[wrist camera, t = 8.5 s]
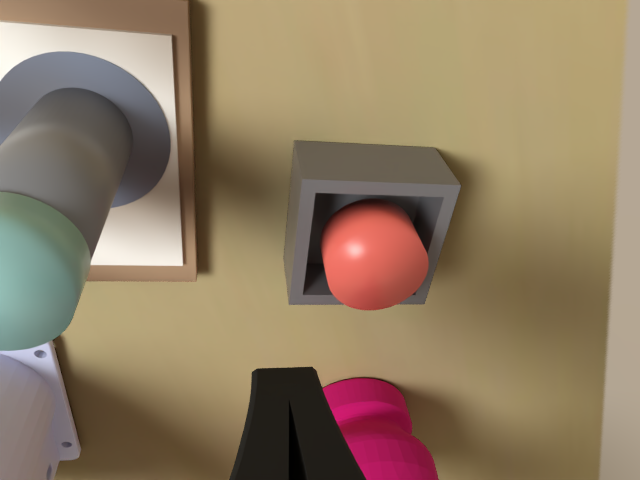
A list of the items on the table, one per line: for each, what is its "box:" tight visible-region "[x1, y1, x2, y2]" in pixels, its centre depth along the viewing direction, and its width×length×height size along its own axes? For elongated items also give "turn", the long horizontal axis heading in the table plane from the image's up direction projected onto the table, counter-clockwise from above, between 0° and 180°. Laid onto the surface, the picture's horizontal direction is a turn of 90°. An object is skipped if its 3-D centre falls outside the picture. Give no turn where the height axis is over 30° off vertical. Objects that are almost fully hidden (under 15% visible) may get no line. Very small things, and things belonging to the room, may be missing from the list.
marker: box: [0, 88, 133, 351], centre depth 14 cm, size 3×3×8 cm
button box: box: [284, 140, 461, 305], centre depth 20 cm, size 6×6×3 cm
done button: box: [320, 198, 429, 310], centre depth 19 cm, size 4×4×2 cm
